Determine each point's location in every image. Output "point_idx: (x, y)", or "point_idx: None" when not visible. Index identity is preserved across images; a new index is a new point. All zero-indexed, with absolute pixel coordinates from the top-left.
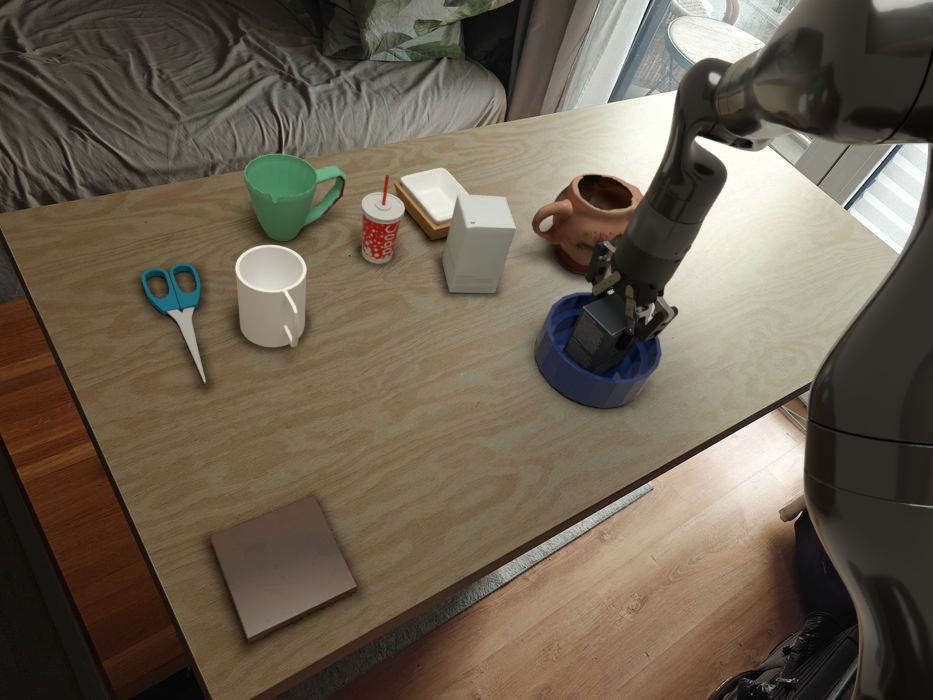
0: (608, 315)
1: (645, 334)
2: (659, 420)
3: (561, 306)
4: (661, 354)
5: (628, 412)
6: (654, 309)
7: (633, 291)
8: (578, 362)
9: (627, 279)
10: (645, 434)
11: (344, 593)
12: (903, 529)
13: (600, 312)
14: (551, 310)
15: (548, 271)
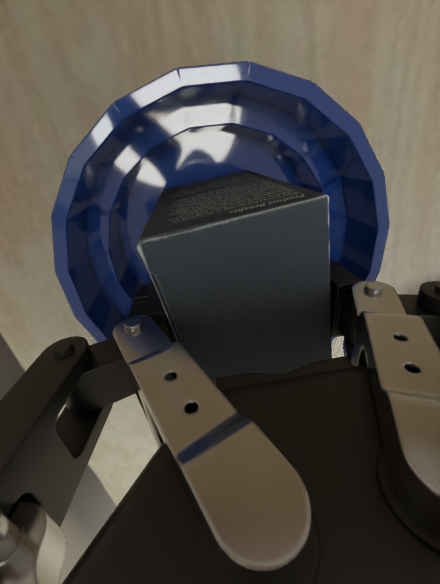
0: (242, 282)
1: (36, 378)
2: (58, 302)
3: (362, 215)
4: None
5: None
6: (32, 555)
7: (218, 540)
8: (200, 184)
9: (373, 523)
10: (22, 259)
11: None
12: None
13: (269, 257)
14: (369, 155)
15: (433, 269)
